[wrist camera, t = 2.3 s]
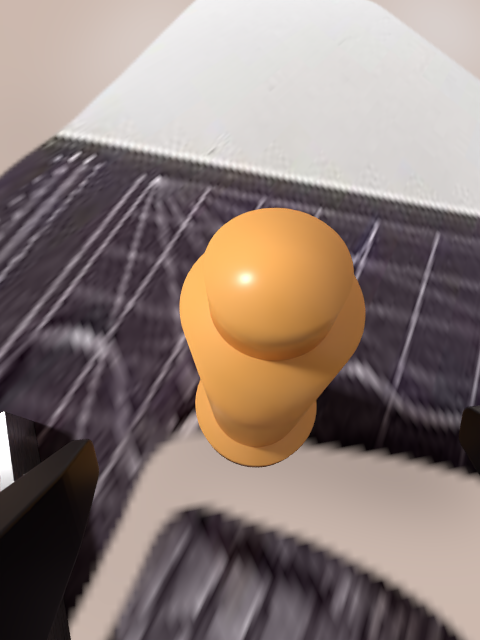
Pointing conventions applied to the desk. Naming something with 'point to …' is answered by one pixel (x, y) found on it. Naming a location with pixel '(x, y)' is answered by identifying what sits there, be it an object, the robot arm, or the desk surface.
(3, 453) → the gray square tray
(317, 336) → the orange game pawn
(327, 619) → the desk surface
